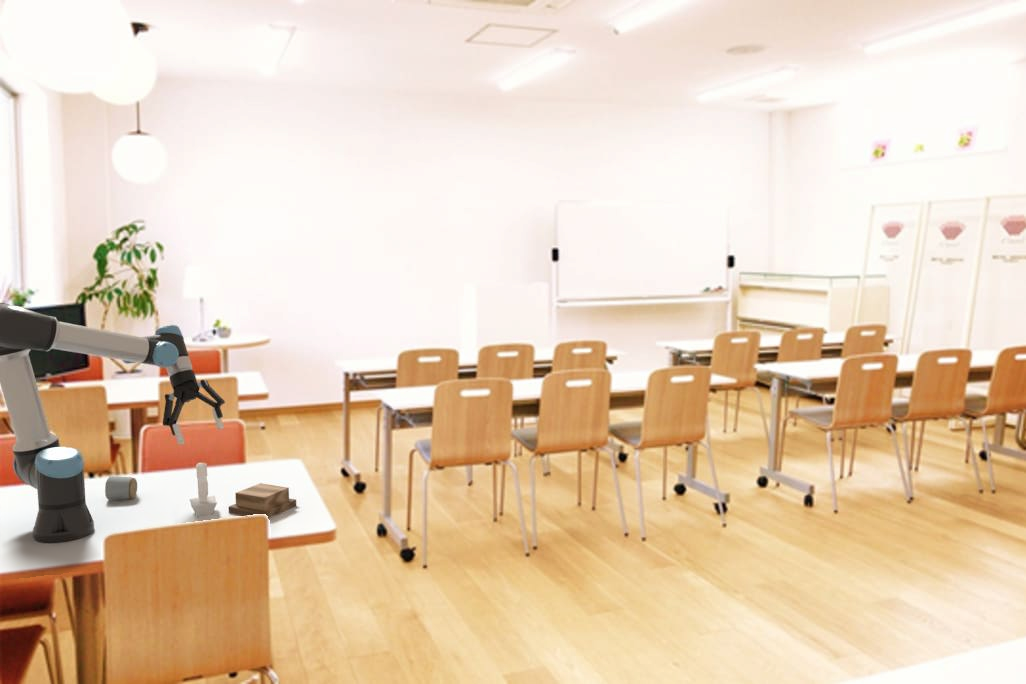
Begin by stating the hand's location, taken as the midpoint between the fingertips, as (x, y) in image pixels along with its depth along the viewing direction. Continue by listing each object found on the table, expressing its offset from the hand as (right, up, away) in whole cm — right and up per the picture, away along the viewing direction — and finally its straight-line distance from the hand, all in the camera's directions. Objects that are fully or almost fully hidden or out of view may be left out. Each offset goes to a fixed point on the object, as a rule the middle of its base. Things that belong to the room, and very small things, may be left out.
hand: (201, 436), depth 267 cm
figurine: (+4, -22, -10) cm, 24 cm away
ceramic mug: (-27, -20, +5) cm, 34 cm away
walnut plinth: (+21, -21, -7) cm, 31 cm away
